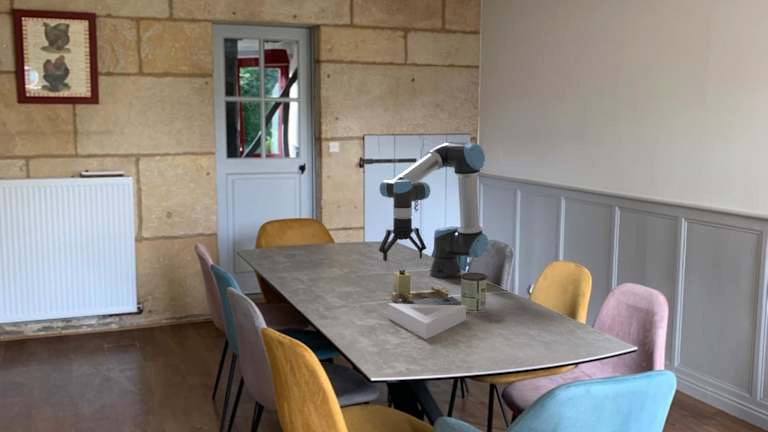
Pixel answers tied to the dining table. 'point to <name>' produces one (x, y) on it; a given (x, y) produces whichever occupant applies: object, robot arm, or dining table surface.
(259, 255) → the dining table surface
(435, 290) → the bar
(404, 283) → the block
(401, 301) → the bolt plate
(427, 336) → the triangle block
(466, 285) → the coffee can
